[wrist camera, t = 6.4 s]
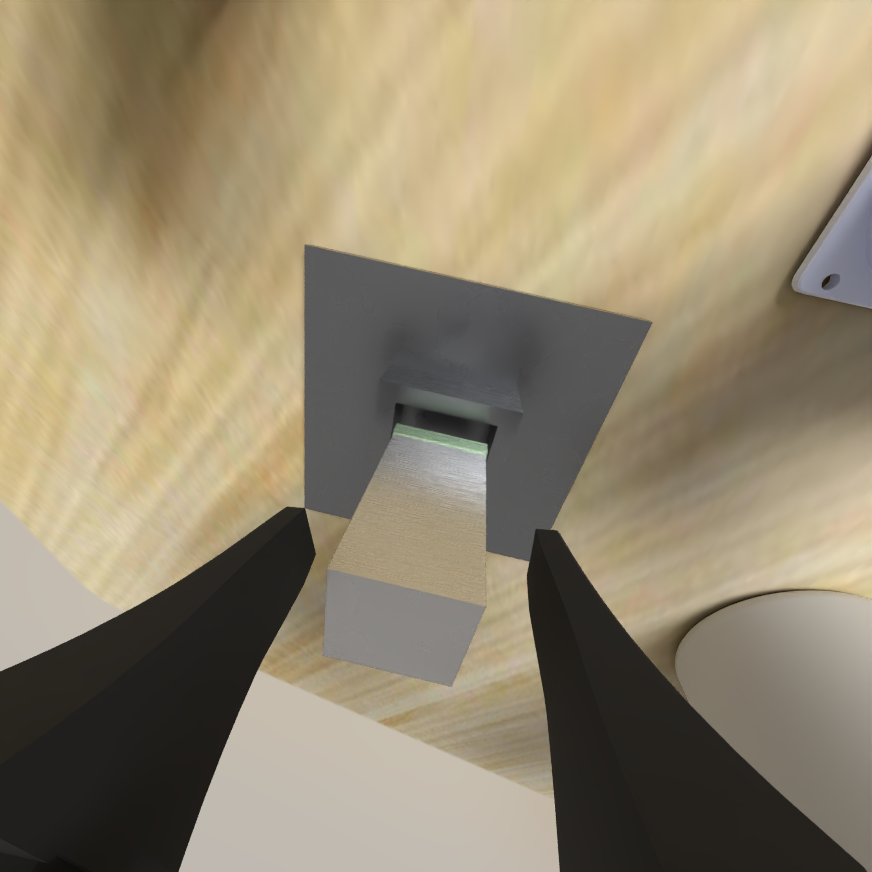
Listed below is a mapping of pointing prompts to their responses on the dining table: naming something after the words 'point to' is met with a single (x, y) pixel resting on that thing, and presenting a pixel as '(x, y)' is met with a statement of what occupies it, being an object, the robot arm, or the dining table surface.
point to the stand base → (455, 383)
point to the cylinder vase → (794, 700)
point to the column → (412, 560)
